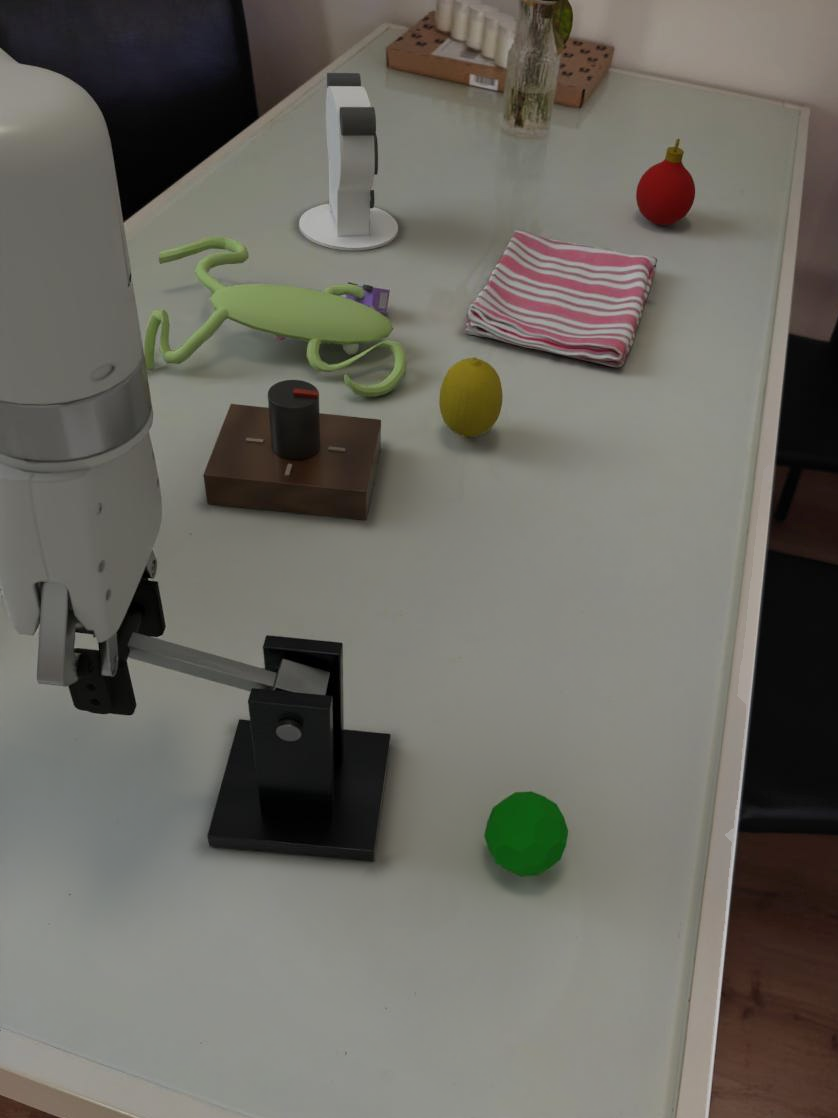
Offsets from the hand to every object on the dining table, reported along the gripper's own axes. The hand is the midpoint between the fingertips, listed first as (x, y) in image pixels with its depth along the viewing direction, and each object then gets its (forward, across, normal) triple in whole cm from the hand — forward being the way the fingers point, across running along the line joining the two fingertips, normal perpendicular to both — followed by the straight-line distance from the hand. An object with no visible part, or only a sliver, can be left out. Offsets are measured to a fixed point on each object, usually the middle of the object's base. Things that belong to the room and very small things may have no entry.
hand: (122, 666), depth 57 cm
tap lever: (0, 0, +5) cm, 5 cm away
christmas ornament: (+11, -89, +38) cm, 98 cm away
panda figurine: (+11, -78, +1) cm, 79 cm away
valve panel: (+11, -32, +4) cm, 34 cm away
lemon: (+11, -40, +18) cm, 45 cm away
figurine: (+11, -53, -2) cm, 54 cm away
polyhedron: (+11, +3, +24) cm, 26 cm away
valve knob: (+8, -32, +4) cm, 33 cm away
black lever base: (+11, 0, +10) cm, 15 cm away
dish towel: (+11, -66, +26) cm, 72 cm away
